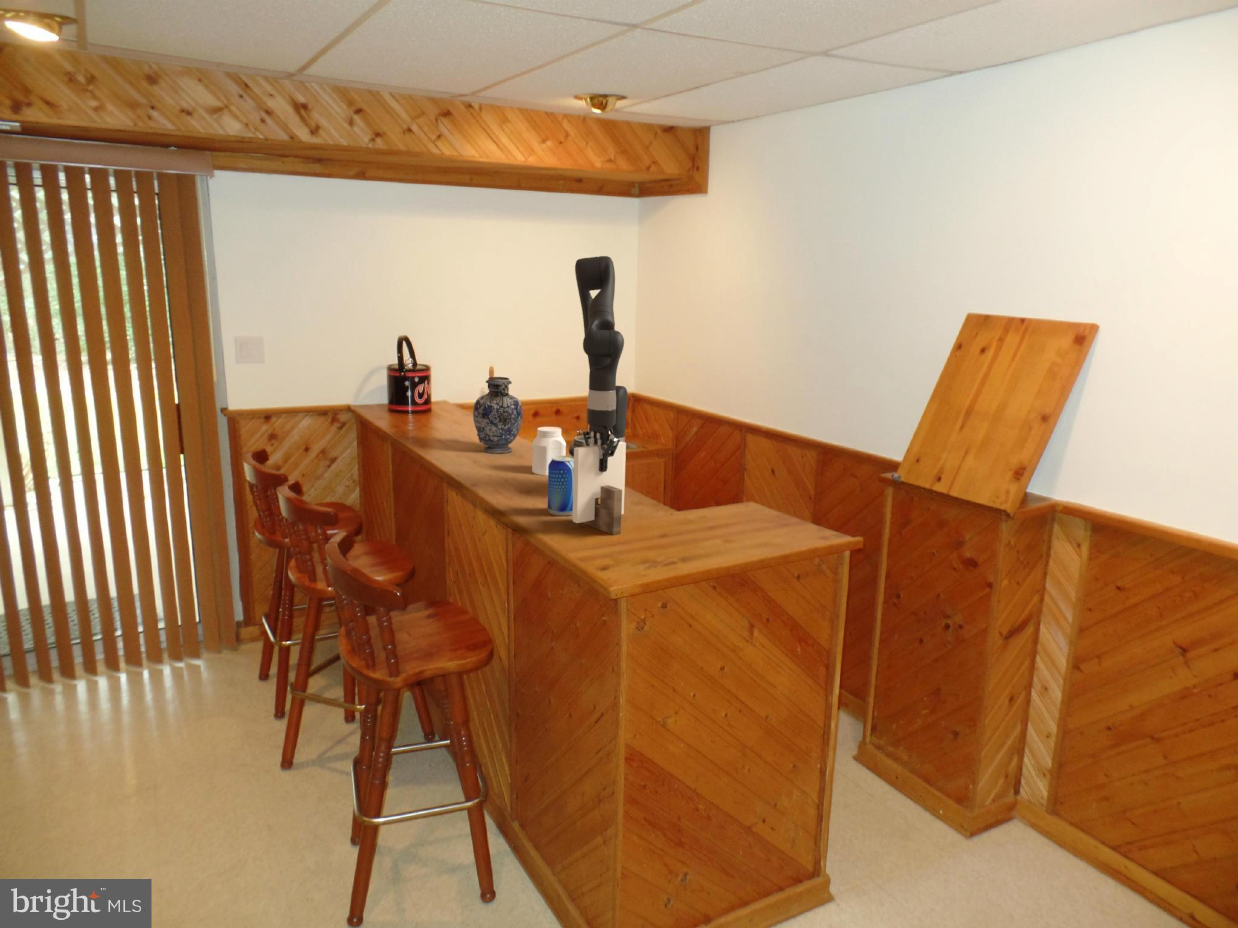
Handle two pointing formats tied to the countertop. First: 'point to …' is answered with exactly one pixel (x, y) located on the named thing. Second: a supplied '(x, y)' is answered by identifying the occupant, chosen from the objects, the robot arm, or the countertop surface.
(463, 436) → the countertop surface
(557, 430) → the jar
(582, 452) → the cream plate
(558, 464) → the beer can
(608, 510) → the walnut notched block
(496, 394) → the decorative vase
